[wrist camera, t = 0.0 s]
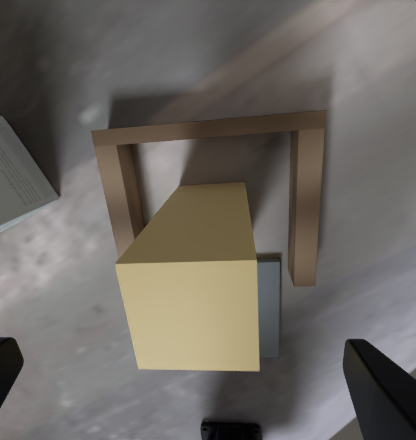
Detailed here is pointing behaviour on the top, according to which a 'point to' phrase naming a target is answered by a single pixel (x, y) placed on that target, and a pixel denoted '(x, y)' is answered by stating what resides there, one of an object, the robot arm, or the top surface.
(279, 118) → the frame
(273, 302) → the slate mat
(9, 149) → the supplement box
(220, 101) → the top surface
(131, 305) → the ochre block
